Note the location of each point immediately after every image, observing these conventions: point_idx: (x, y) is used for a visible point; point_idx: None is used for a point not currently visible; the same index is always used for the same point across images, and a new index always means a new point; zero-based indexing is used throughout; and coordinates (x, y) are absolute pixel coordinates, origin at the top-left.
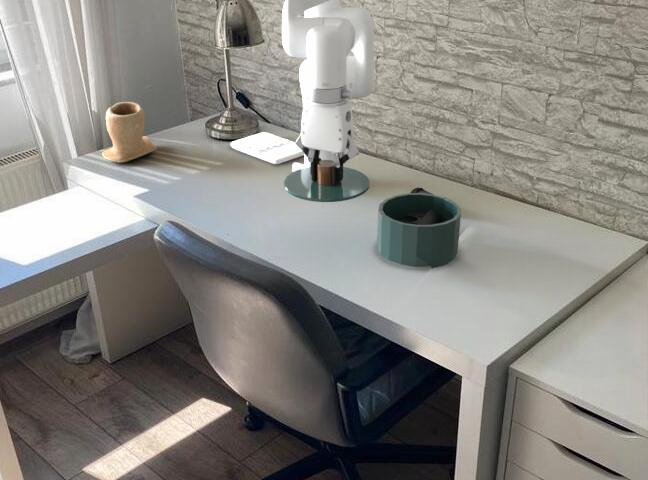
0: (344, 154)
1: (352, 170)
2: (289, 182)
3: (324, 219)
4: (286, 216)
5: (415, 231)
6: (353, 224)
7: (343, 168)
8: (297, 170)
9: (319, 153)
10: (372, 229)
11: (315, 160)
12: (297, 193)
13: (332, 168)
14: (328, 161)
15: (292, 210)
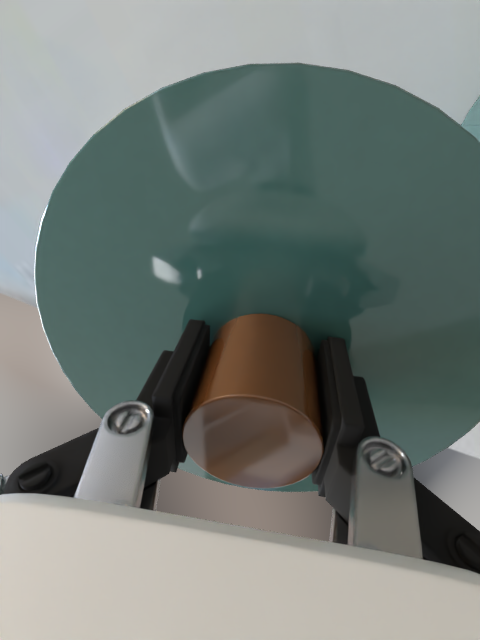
0: (416, 527)
1: (374, 121)
2: (112, 405)
3: (190, 41)
4: (63, 86)
5: None
6: (313, 32)
7: (286, 109)
8: (38, 275)
9: (147, 444)
10: (401, 46)
11: (170, 467)
12: (201, 471)
13: (315, 482)
14: (247, 420)
15: (43, 13)
